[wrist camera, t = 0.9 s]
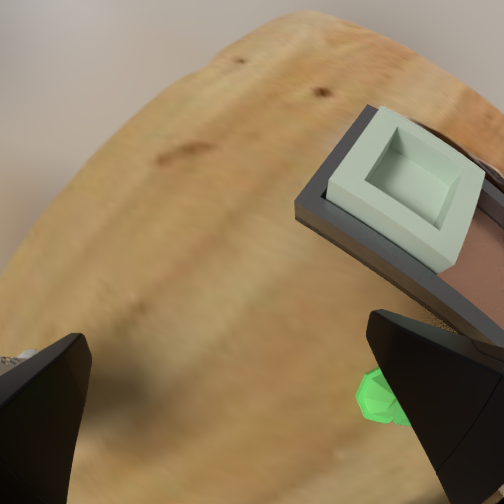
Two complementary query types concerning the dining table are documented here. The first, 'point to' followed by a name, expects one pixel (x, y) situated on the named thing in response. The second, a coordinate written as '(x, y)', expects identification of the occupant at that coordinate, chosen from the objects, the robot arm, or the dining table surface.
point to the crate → (409, 189)
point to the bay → (410, 270)
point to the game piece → (379, 400)
